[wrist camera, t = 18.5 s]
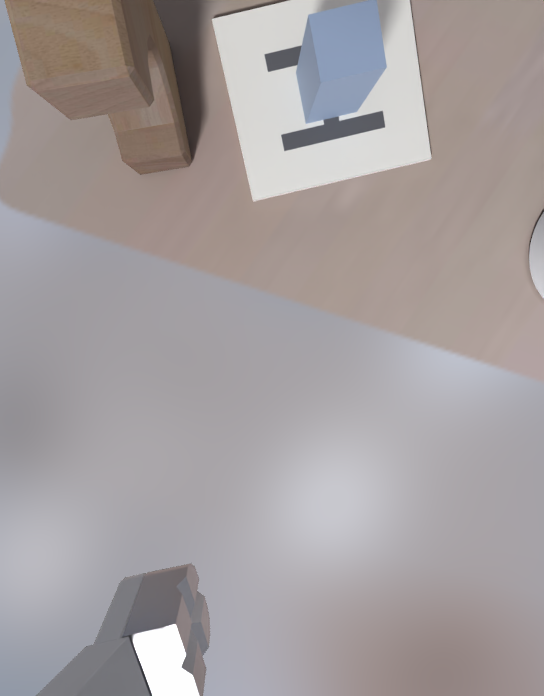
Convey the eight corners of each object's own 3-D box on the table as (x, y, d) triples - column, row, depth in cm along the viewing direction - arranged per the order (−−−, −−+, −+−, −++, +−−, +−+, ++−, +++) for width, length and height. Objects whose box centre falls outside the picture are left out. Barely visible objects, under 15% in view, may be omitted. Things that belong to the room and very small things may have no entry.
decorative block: (193, 167, 40) (134, 74, 20) (135, 176, 40) (20, 90, 20) (171, 40, 38) (81, -203, 18) (110, 49, 38) (-48, -186, 18)
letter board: (403, -23, 37) (406, -28, 37) (428, 160, 41) (431, 158, 40) (212, 22, 37) (211, 18, 37) (253, 201, 41) (253, 200, 40)
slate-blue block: (348, 60, 38) (376, -2, 29) (356, 111, 39) (386, 67, 30) (295, 72, 38) (308, 14, 29) (305, 124, 39) (320, 82, 30)
